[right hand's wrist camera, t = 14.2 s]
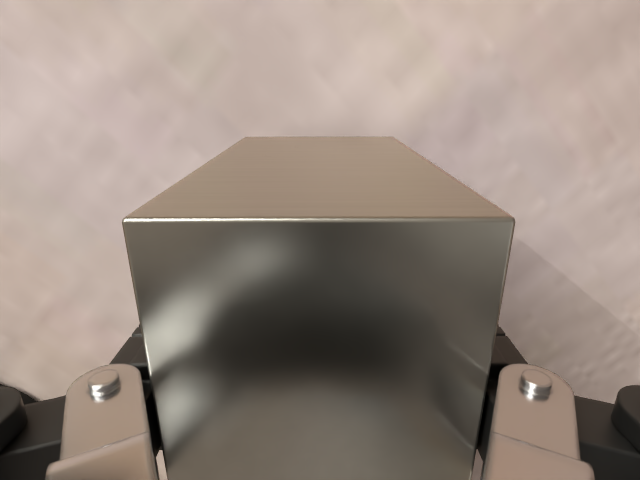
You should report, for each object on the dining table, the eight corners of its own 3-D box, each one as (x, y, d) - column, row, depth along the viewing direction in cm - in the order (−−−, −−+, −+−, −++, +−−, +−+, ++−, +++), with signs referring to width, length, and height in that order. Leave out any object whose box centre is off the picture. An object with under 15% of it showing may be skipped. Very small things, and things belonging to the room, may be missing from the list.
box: (244, 136, 17) (118, 218, 6) (394, 136, 17) (518, 218, 6) (269, 533, 25) (233, 856, 15) (370, 532, 25) (407, 855, 15)
